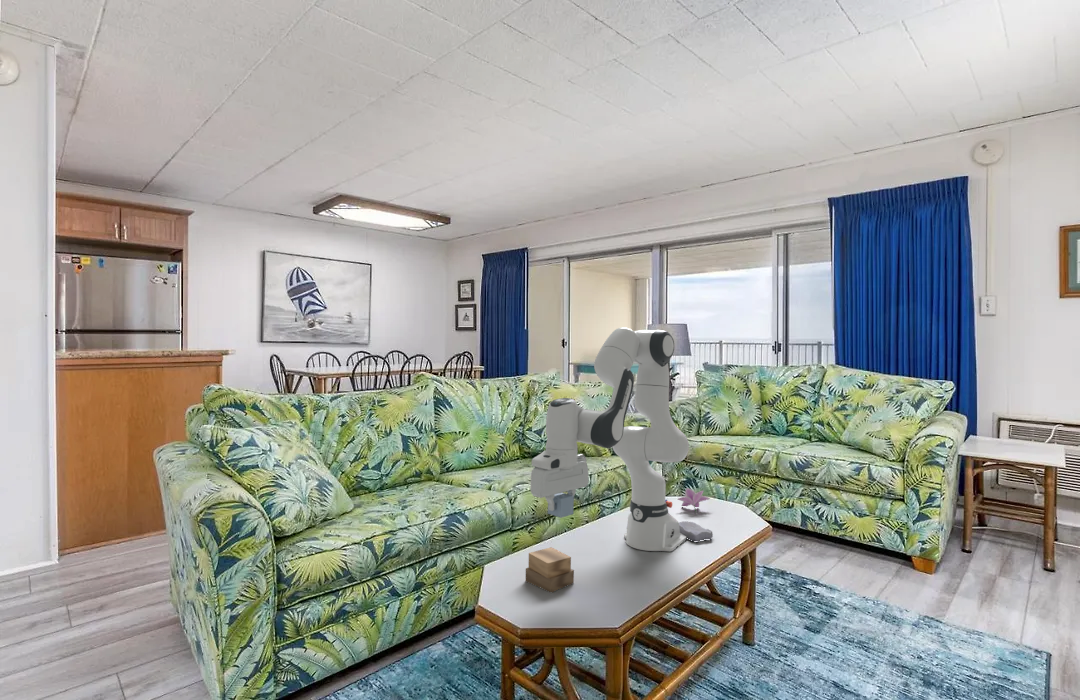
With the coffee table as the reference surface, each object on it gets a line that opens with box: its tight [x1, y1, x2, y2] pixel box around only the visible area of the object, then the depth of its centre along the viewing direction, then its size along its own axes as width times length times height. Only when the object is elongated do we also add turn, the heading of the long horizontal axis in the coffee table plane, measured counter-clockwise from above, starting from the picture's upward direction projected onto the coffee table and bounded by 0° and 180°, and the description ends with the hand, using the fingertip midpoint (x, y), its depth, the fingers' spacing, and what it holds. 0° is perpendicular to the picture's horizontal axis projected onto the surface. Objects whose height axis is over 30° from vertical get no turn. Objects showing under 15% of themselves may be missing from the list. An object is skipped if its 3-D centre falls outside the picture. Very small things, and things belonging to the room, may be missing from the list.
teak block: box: [528, 546, 572, 578], centre depth 157 cm, size 8×9×4 cm
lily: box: [677, 487, 711, 512], centre depth 226 cm, size 12×12×10 cm
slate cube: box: [547, 492, 575, 518], centre depth 155 cm, size 5×5×5 cm
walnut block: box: [525, 566, 575, 593], centre depth 157 cm, size 9×10×4 cm
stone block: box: [678, 520, 714, 542], centre depth 197 cm, size 12×5×10 cm
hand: (560, 507), depth 155 cm, fingers closed on slate cube, 5 cm apart
